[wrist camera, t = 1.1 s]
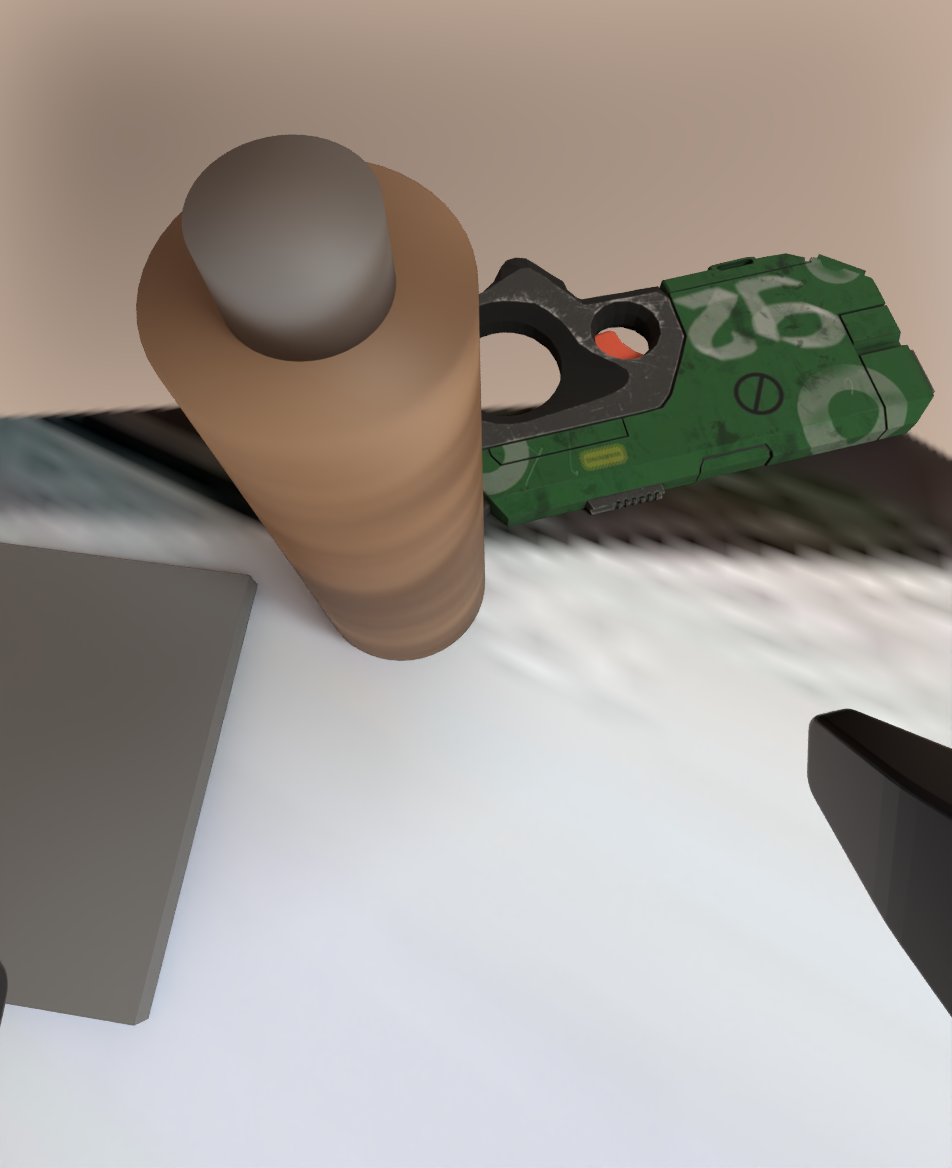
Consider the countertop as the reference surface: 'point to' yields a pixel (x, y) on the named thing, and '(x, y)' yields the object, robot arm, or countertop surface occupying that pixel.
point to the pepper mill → (334, 377)
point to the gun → (692, 381)
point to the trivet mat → (104, 765)
